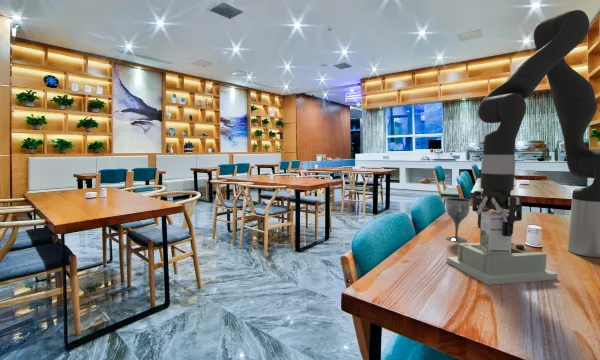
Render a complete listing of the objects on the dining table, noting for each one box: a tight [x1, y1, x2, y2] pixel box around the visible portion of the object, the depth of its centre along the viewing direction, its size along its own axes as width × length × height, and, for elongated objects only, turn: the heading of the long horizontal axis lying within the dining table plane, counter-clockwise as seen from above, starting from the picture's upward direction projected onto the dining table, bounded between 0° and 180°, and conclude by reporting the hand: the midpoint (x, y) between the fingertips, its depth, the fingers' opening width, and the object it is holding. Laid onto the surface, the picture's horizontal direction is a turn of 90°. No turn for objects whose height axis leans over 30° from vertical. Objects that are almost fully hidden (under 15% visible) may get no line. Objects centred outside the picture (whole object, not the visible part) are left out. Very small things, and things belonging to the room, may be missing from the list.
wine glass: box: [445, 197, 471, 243], centre depth 116 cm, size 8×8×15 cm
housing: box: [446, 241, 559, 286], centre depth 86 cm, size 20×16×6 cm
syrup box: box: [479, 210, 513, 255], centre depth 85 cm, size 6×6×14 cm
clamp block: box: [511, 243, 536, 254], centre depth 87 cm, size 4×7×5 cm, turn 10°
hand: (493, 231), depth 85 cm, fingers open, 8 cm apart
